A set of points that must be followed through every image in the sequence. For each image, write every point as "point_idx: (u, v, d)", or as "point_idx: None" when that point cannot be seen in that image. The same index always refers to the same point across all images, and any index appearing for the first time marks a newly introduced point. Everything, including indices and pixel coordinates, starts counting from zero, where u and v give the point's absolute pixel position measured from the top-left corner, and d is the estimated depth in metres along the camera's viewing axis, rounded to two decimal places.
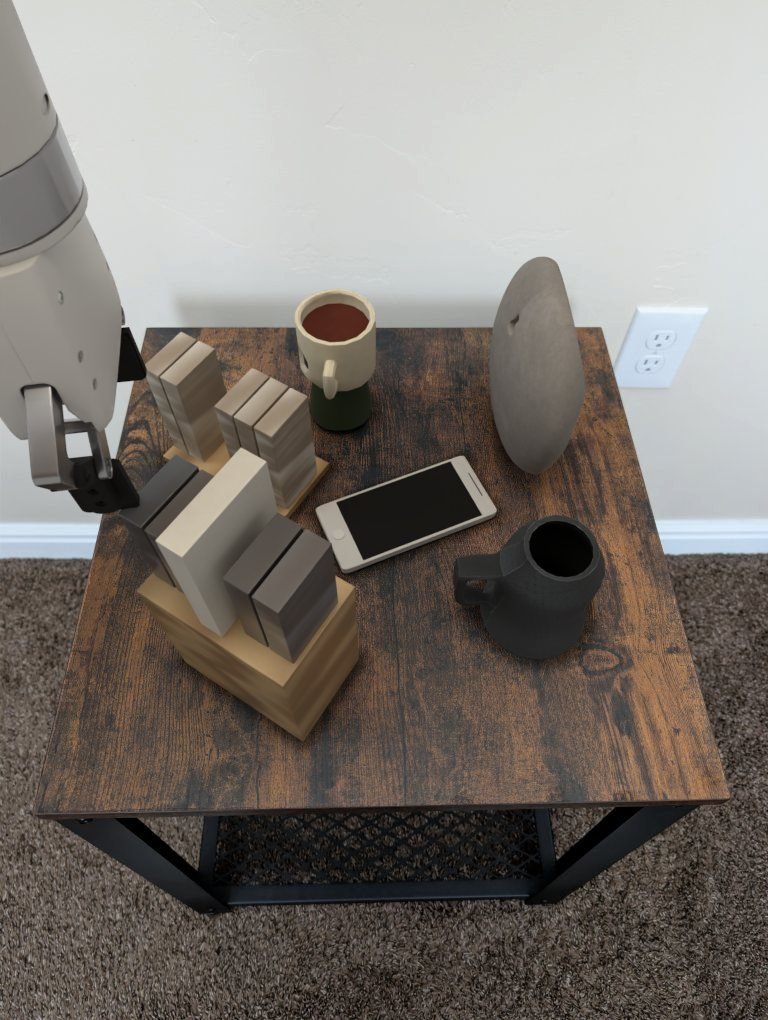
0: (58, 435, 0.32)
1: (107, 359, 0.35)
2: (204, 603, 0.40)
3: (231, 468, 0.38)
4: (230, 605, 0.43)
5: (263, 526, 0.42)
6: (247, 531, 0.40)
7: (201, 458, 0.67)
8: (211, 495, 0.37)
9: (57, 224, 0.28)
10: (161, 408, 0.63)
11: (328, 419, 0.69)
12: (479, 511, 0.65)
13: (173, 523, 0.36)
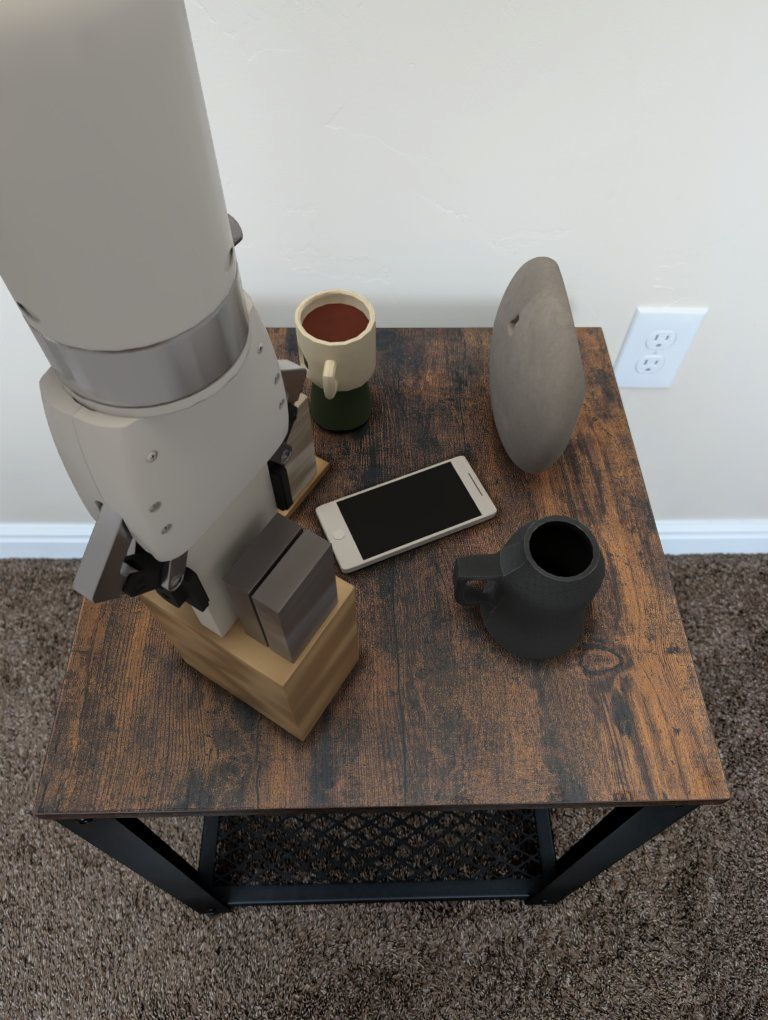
0: (112, 560, 0.31)
1: (206, 502, 0.32)
2: None
3: None
4: (230, 605, 0.43)
5: (263, 526, 0.42)
6: (247, 531, 0.40)
7: None
8: None
9: (170, 400, 0.25)
10: None
11: (328, 419, 0.69)
12: (479, 511, 0.65)
13: None
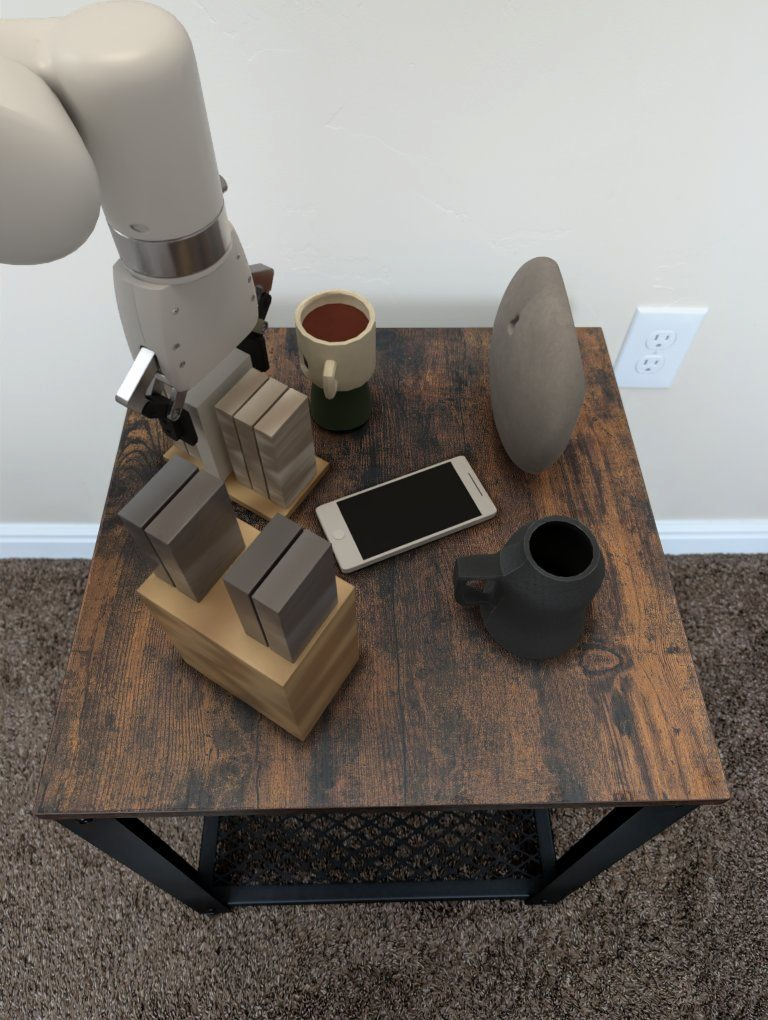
0: (143, 381, 0.50)
1: (205, 353, 0.52)
2: (210, 450, 0.62)
3: (227, 359, 0.60)
4: (227, 459, 0.65)
5: None
6: None
7: None
8: (214, 373, 0.59)
9: (186, 274, 0.45)
10: None
11: (328, 419, 0.69)
12: (479, 511, 0.65)
13: (191, 389, 0.58)
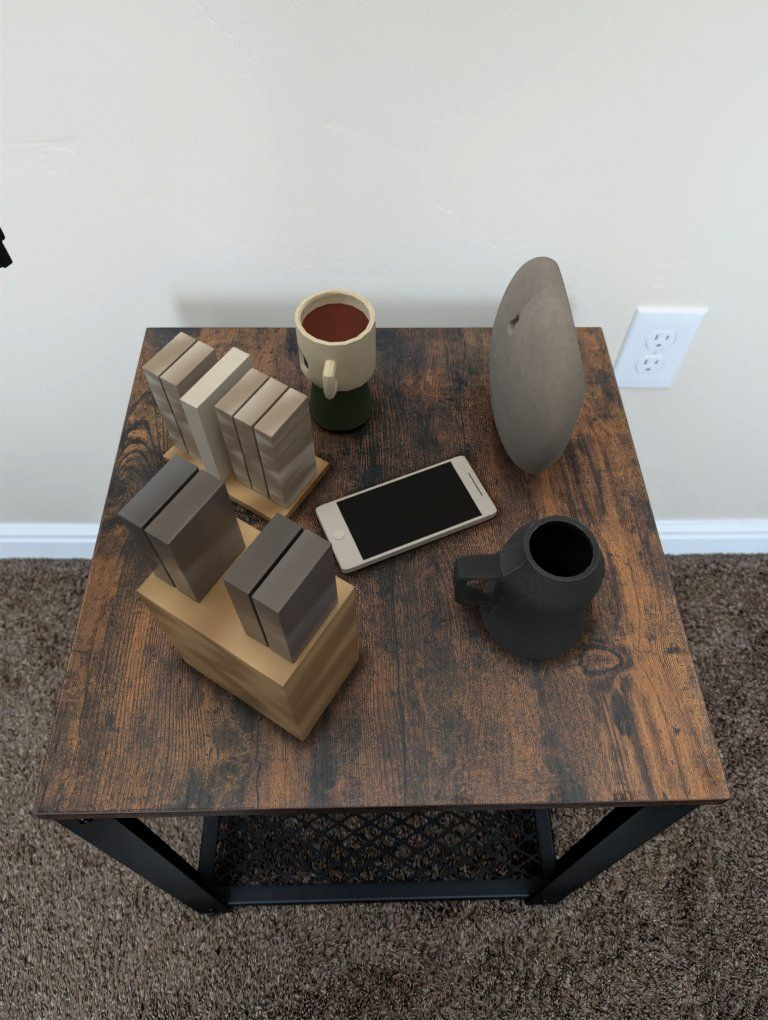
0: None
1: None
2: (210, 450, 0.62)
3: (227, 359, 0.60)
4: (227, 459, 0.65)
5: None
6: None
7: None
8: (214, 373, 0.59)
9: None
10: (161, 408, 0.63)
11: (328, 419, 0.69)
12: (479, 511, 0.65)
13: (191, 389, 0.58)
